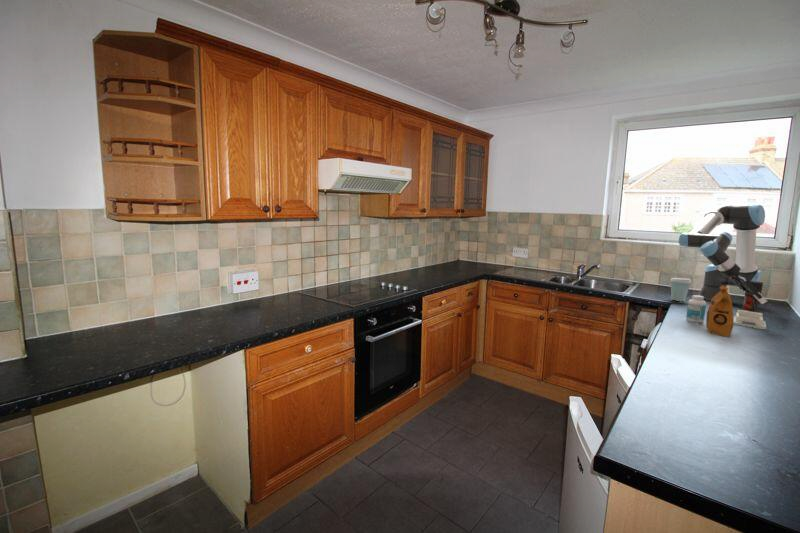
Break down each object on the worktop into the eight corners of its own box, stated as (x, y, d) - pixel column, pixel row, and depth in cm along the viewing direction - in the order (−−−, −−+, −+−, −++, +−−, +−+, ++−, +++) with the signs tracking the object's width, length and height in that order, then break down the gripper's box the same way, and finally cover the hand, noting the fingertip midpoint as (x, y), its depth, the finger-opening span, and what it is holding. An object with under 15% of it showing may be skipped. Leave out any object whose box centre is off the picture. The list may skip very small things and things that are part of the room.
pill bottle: (697, 319, 203) (701, 294, 201) (707, 323, 196) (711, 298, 194) (682, 318, 204) (686, 294, 202) (691, 322, 197) (695, 297, 195)
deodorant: (761, 312, 194) (766, 283, 192) (749, 311, 194) (754, 282, 192) (750, 309, 200) (755, 280, 198) (739, 308, 200) (744, 280, 198)
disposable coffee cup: (663, 299, 246) (666, 276, 244) (676, 298, 249) (679, 276, 247) (680, 303, 236) (683, 280, 234) (692, 302, 239) (696, 279, 237)
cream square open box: (731, 318, 207) (733, 309, 206) (764, 323, 198) (766, 313, 198) (731, 323, 197) (732, 314, 196) (766, 329, 188) (767, 319, 187)
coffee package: (703, 333, 181) (711, 287, 177) (704, 327, 190) (711, 283, 187) (731, 338, 175) (739, 291, 171) (731, 331, 184) (738, 287, 181)
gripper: (711, 269, 207) (742, 301, 205) (730, 274, 189) (764, 310, 188) (724, 260, 205) (756, 292, 203) (744, 265, 187) (780, 300, 185)
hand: (760, 301), depth 195 cm, fingers closed on deodorant, 6 cm apart
